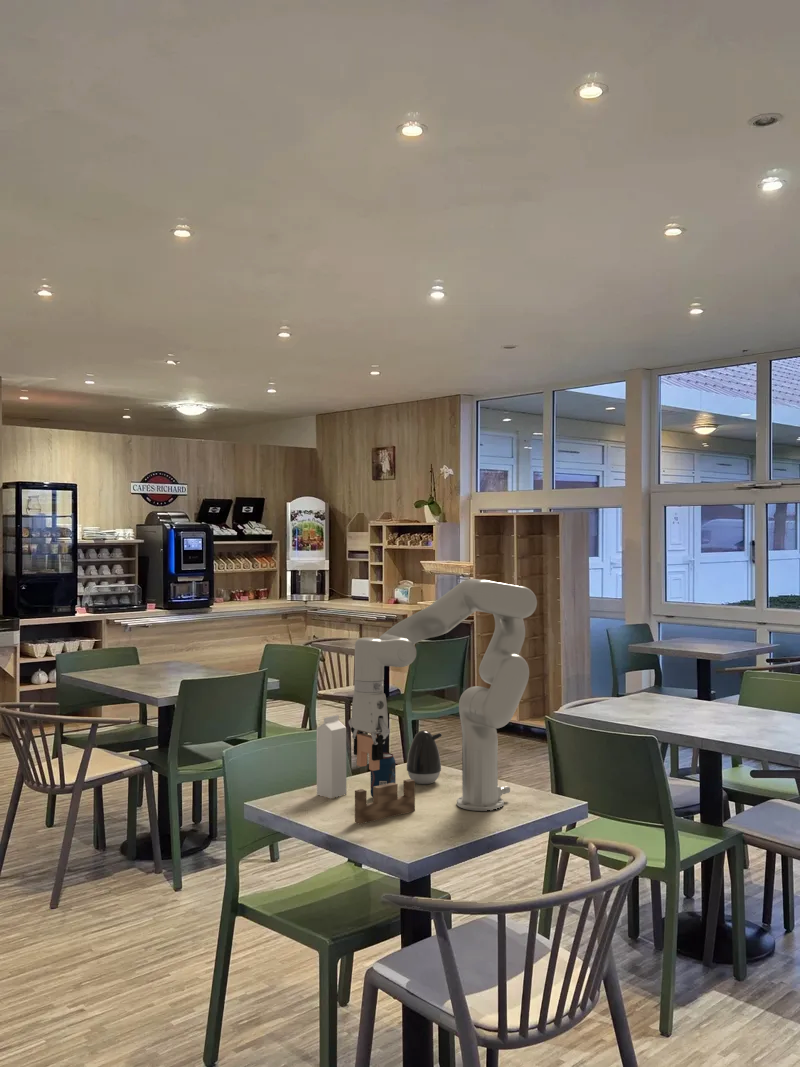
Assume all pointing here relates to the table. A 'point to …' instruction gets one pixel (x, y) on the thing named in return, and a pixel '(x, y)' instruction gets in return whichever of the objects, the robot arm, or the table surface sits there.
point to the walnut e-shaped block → (384, 802)
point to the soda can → (384, 772)
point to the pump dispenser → (424, 758)
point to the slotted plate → (366, 747)
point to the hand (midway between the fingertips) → (368, 756)
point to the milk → (331, 758)
